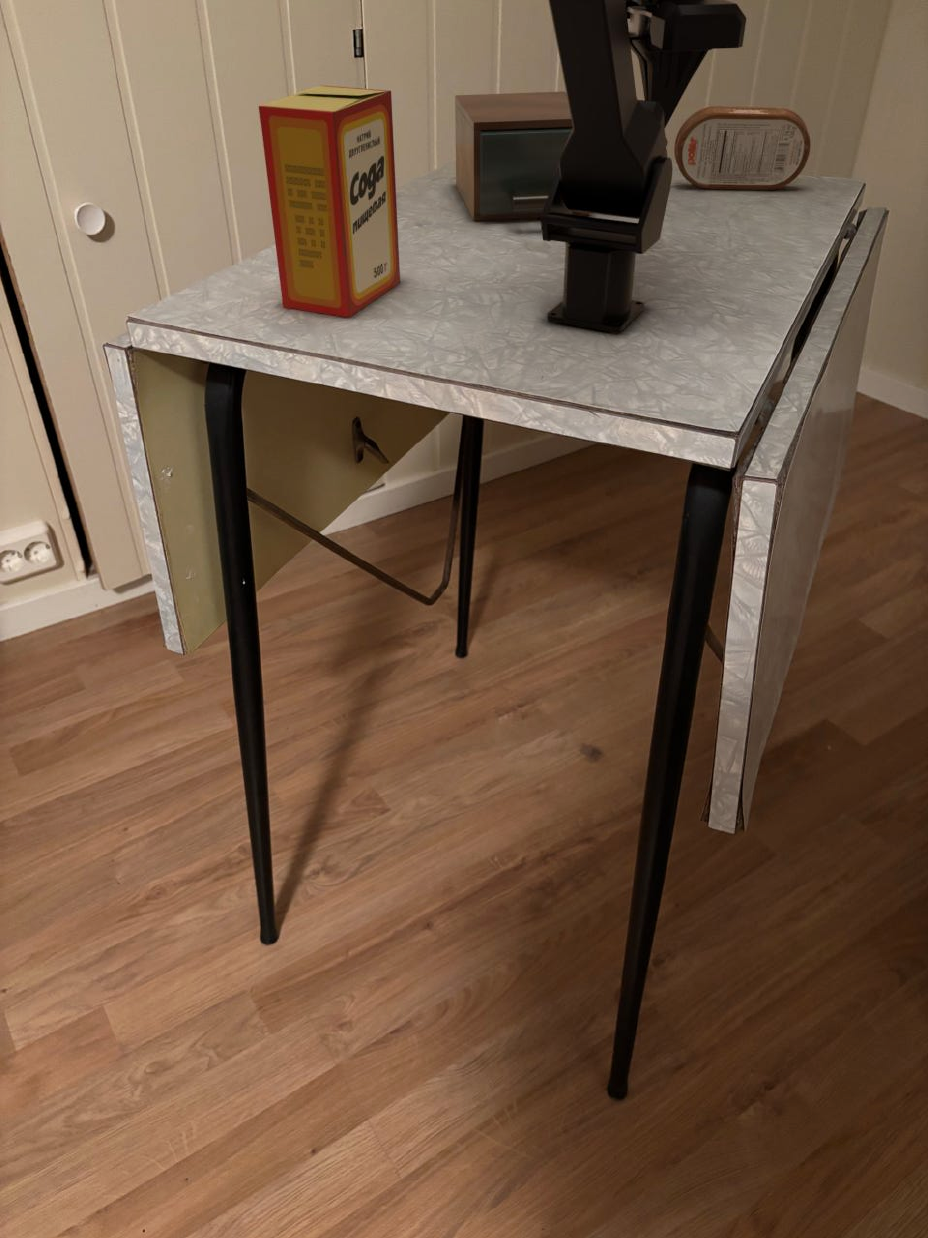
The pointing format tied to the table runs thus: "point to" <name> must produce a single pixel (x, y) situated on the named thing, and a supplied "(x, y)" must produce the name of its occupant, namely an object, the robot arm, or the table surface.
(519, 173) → the drawer
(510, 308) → the table surface
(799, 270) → the table surface
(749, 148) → the tin
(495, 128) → the cabinet
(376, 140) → the baking soda box
